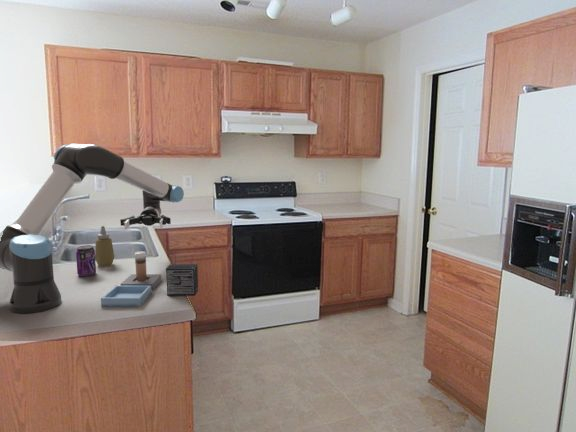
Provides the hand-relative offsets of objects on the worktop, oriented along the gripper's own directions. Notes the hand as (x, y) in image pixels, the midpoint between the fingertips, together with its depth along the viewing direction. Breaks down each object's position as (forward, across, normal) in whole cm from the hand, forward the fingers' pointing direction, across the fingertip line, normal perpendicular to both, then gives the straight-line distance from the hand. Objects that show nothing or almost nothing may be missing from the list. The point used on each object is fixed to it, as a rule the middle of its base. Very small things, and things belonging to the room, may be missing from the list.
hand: (143, 225), depth 171 cm
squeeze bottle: (-21, +20, -22) cm, 37 cm away
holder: (+10, 0, -22) cm, 24 cm away
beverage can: (-7, +25, -22) cm, 34 cm away
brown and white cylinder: (+10, 0, -22) cm, 24 cm away
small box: (+22, -16, -22) cm, 35 cm away
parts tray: (+26, +3, -22) cm, 34 cm away
